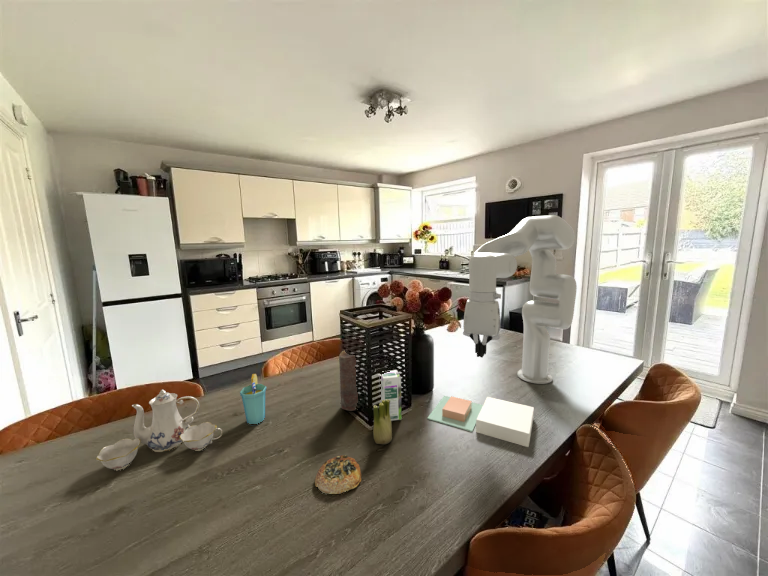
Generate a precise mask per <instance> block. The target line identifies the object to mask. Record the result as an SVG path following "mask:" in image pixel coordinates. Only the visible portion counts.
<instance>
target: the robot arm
mask: <svg viewBox="0 0 768 576" xmlns="http://www.w3.org/2000/svg"><path fill="white" fill-rule="evenodd" d="M575 240H576V233H575V230H574V228H573V227H572V226H571V224H569V223H568V222H567V221H566V219H564V218H562V217H560V216H559V215H555V214H548V215H535V216H527V217H525V218H523V219H521V220H520V221H519V222H518V223H517V224H516V225H515V227H513V228H512V229H511V230H510V231H509V232H508V233H507V234H505V235H502V236H499V237H497V238H494V239H492V240H489V241H488V242H486V243H484V244H482V245H481V246H480V247H479V248H477V249H476V250H475V251H474V252H473V254H471V256H470V258H469V261H468V270H469V271H468V272H469V276H468V277H469V279H468V280H469V281H468V285H469V286H468V299H467V300H466V303H465V307H464V313H463V314H464V315H463V326H462V327H463V332H462V334H463V336H465V337H469V338H470V339H471V340H472V341H473V343H474V344H475V345H474V352H475V353H476V357H477V358H483V357H484V356H485V355H486V354H487V344H488V343H490V341H496V340H499V339H500V338H501V334H500V330H501V312H500V303H499V301H498V299H501V297H502V294H501V293H498V292H497V279H507V278H510V277H512V276H513V275H514V274H515V273H516V271H517V268H518V260H517V259H516V257H519V256H522V255H524V254H526V253H527V252H529V254H530V257H531V270H530V271H531V273H530V279H529V293H530V295H532V296H533V297H535V298H536V297H537V298H542V299H551V300H557V301H558V302H552V301H547V300H546V301H544V300H539V299H538V300H537V299H534V300H529V301H528V300H527V301H526V302H525V303H523V305H522V308H521V316H522V320H523V321H522V323H523V341H522V355H521V356H522V357H521V358H522V360H521V368H520V369H519V370H517V377H518V378H520V379H521V380H523V381H525V382H527V383H530V384H531V383H532V384H536V385H537V384H538V385H545V384H549V383H551V382H552V381H553V376H552V375H551V373H549V365H550V364H549V362H550V360H549V359H550V348H551V347H550V346H551V336H550V333H549V331H548V328H552V329H558V330H567V329H569V328H570V327H571V326H572V324H573V320H574V313H575V305H576V298H577V289H578V287H577V281H576V278H574V276H573V275H569V274H563V273H560V274H559V273H557V272H556V271H557V264H558V262H557V259H556V256H555V254H553V251H555V250H557V251H558V250H562V251H564V250H568V249H570V248H571V247H573V245H574V243H575ZM552 250H553V251H552ZM480 336H482V341H481V338H480Z"/></svg>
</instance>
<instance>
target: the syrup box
mask: <svg viewBox="0 0 768 576" xmlns="http://www.w3.org/2000/svg"><path fill="white" fill-rule="evenodd" d="M389 371H390V372H387V373H384V374H382V375H381V401H382V400H387V399H388V400H390V418H391V422H393V421H401V420H402V419H403V418H402V377H401V375H400V373H399V371H398V370H397V369H393V370H389ZM380 403H382V402H380Z"/></svg>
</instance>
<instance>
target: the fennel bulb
mask: <svg viewBox="0 0 768 576" xmlns="http://www.w3.org/2000/svg"><path fill="white" fill-rule="evenodd" d="M372 410H373V433H372V435H373V439H374V443H375V444H377V445H388V444H389V443H391V442H392V439H393V437H392V436H393V433H392V432H393V428H392V426H393V425H392V421H391V418H390V400H388V399H387V400H382V403H381V402H380V403H379V404H378V406H377V405H375V404H374V405H373V409H372Z"/></svg>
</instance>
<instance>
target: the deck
mask: <svg viewBox="0 0 768 576" xmlns="http://www.w3.org/2000/svg"><path fill="white" fill-rule="evenodd" d="M482 405H483V407H482V409H481V411H480V413H479V415H478V417H477V419H476V425H475V433H478V434H480V435H484V436H488V437H491V438H495V439H498V440H502V441H505V442H510V443H513V444H517V445H519V446H523V447H526V448H530V447H529V446H530V442H531V435H532V429H533V428H532V427H533V423H534V415H535V414H534V412H535V411H534V409H535V407H534V406H530V405H526V404H520V403H517V402H513V401H512V402H511V401H508V400H504V399H499V398H494V397H491V396H486V399H485V401H484V403H483V404H482Z"/></svg>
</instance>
